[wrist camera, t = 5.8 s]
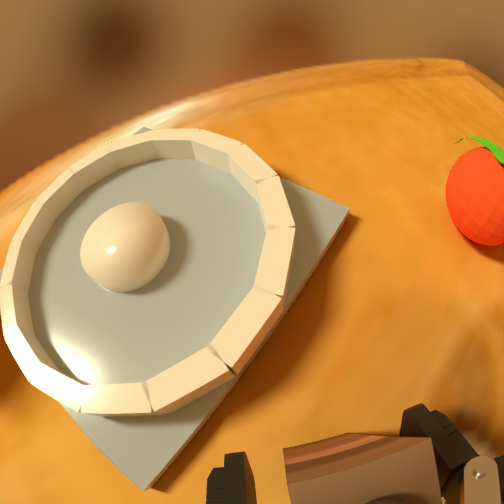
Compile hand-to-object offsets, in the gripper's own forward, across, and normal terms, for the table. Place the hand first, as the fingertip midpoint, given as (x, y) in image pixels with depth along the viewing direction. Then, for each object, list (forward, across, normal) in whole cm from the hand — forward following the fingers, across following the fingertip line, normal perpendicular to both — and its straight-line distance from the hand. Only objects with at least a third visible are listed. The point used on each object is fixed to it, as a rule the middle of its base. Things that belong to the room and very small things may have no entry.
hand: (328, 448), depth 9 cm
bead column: (+2, 0, +4) cm, 5 cm away
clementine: (+11, -16, -5) cm, 20 cm away
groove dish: (+12, +9, -6) cm, 17 cm away
